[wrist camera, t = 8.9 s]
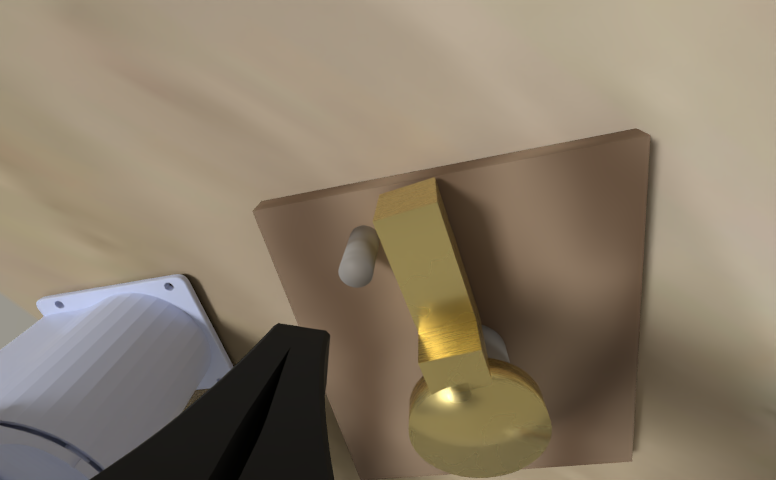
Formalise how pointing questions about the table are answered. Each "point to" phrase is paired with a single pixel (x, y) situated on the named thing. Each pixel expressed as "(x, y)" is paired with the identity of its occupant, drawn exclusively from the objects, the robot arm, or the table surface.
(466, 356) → the door handle
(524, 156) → the base
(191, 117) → the table surface
